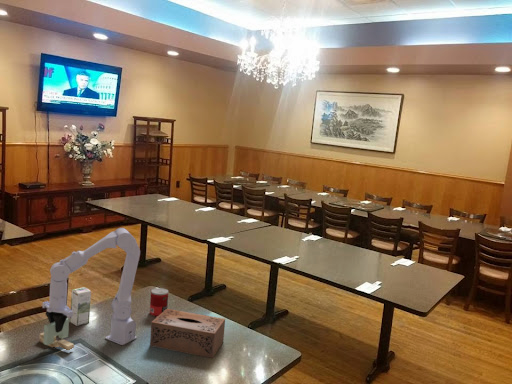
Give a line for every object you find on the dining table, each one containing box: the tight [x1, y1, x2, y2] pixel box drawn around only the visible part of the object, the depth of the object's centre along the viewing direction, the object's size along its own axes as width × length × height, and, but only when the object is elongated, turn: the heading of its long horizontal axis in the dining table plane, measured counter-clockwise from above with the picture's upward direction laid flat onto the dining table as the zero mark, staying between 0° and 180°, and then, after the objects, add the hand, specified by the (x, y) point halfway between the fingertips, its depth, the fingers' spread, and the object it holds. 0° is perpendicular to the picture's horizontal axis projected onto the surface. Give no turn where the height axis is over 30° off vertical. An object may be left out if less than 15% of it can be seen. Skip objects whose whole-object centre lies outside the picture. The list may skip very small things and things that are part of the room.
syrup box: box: [69, 286, 92, 327], centre depth 178 cm, size 6×6×14 cm
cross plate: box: [43, 317, 70, 346], centre depth 157 cm, size 9×2×7 cm, turn 152°
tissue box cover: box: [149, 308, 226, 359], centre depth 169 cm, size 26×14×10 cm, turn 78°
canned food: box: [149, 287, 169, 318], centre depth 195 cm, size 8×8×11 cm
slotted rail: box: [38, 331, 75, 350], centre depth 157 cm, size 16×2×3 cm, turn 62°
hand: (56, 330), depth 157 cm, fingers closed on cross plate, 2 cm apart
